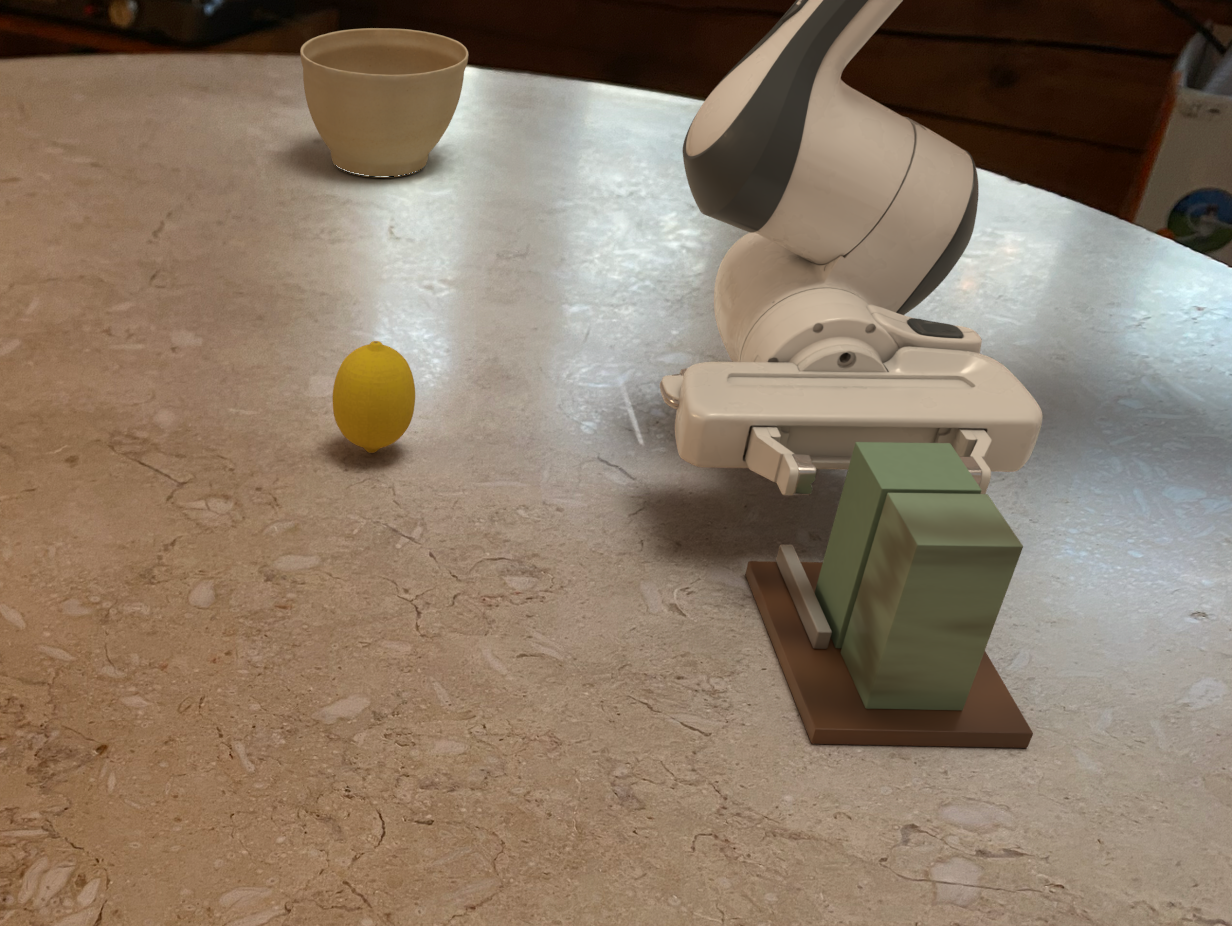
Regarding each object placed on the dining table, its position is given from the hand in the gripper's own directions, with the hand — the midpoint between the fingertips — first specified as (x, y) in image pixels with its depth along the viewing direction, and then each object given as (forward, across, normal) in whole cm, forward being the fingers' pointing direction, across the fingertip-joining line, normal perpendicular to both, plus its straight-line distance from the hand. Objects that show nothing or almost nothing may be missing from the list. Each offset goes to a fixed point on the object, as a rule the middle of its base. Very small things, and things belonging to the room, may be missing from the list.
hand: (887, 485), depth 80 cm
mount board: (+6, 0, +8) cm, 10 cm away
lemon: (-18, -28, +8) cm, 34 cm away
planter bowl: (-78, -26, +8) cm, 83 cm away
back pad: (+3, 0, +7) cm, 8 cm away
